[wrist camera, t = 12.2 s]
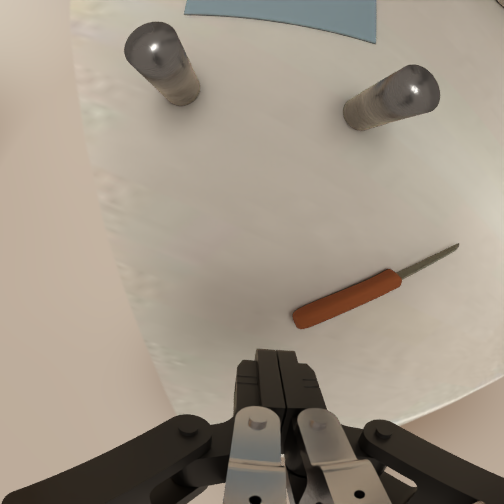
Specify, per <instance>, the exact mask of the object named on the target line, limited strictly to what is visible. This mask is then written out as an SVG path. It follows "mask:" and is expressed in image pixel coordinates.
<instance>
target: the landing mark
mask: <svg viewBox="0 0 504 504" xmlns="http://www.w3.org/2000/svg"><path fill="white" fill-rule="evenodd" d="M184 15H211V16H228V17H240V18H250V19H259V20H267V21H275V22H281V23H288V24H294V25H299V26H305V27H310V28H315V29H320V30H324V31H329V32H333V33H337V34H341V35H345V36H349V37H353V38H356V39H360V40H364V41H367V42H370V43H374V44H375V43H376V0H187V3H186V7H185V11H184Z"/></svg>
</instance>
